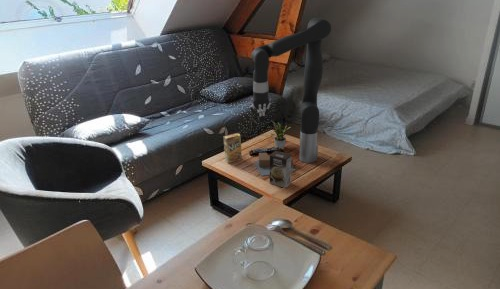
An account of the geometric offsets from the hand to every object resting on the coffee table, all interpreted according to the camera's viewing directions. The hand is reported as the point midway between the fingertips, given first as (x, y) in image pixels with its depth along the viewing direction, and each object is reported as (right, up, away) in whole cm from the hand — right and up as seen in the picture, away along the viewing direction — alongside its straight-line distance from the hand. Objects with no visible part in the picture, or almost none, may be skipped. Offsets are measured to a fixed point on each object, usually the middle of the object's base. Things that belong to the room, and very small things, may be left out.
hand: (261, 122), depth 184 cm
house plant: (+11, -14, +31) cm, 36 cm away
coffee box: (+9, -31, -4) cm, 33 cm away
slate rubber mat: (+7, -23, +11) cm, 27 cm away
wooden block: (-1, -20, +12) cm, 24 cm away
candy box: (-15, -20, +19) cm, 32 cm away
